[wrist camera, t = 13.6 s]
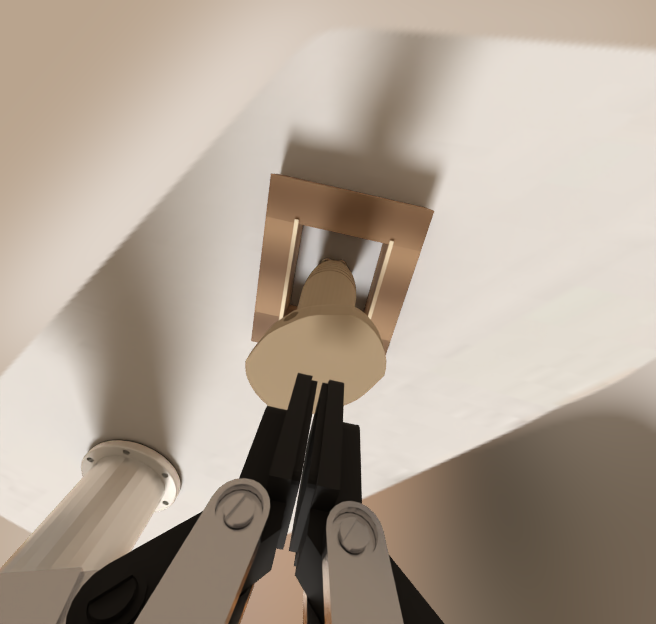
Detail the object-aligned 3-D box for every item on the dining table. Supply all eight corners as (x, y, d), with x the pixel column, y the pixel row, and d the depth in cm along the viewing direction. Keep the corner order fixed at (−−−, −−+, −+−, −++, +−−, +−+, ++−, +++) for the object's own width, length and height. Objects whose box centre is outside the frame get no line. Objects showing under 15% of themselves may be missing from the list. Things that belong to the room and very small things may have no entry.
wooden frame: (378, 352, 30) (380, 370, 27) (260, 326, 30) (250, 342, 27) (424, 207, 24) (435, 211, 22) (280, 174, 24) (270, 173, 21)
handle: (289, 265, 27) (226, 352, 14) (354, 233, 26) (356, 293, 12) (314, 310, 29) (280, 427, 15) (377, 282, 27) (402, 384, 14)
